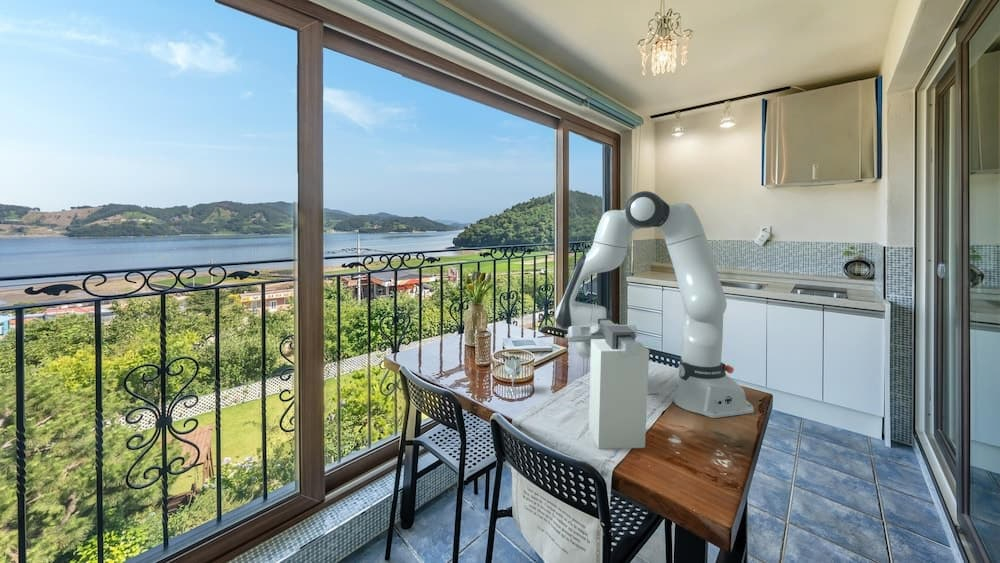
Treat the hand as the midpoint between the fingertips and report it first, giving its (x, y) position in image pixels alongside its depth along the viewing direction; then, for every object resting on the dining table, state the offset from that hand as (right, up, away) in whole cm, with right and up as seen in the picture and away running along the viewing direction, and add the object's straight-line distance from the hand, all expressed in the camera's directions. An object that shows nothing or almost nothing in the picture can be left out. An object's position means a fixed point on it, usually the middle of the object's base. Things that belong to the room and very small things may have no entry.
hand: (608, 326), depth 112 cm
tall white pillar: (+1, -29, -5) cm, 30 cm away
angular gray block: (0, -3, -7) cm, 8 cm away
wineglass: (-26, -25, +24) cm, 44 cm away
